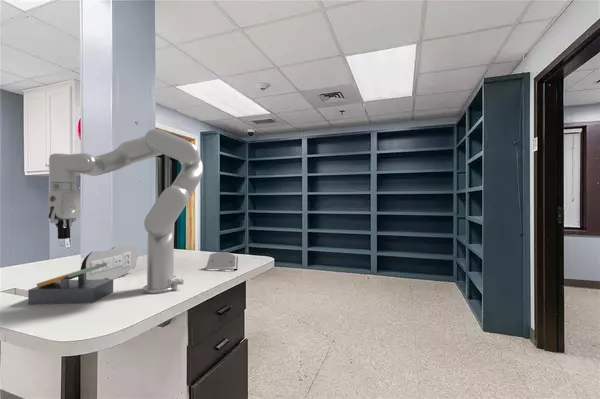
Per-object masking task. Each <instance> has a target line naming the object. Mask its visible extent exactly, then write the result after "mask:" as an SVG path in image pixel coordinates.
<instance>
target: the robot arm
mask: <svg viewBox="0 0 600 399" xmlns="http://www.w3.org/2000/svg"><path fill="white" fill-rule="evenodd" d="M144 135H145V136H142V137H138V138H134V139H131V140H127V141H123V142H122V143H120V144H119V146H118V147H117V148H115V149H114V150H112V151H110V152H106V153H104V154H100V155H96V156H95V155H93V154H89V153H87V152H85V153H81V152H80V153H70V154H69V153H52V154H50V155H49V157H48V170H49V171H48V174H49V177H48V178H49V182H48V183H49V192H48V196H47V197H48V198H47V208H46V210H47V211H46V212H47V217H48V219H49V220H50V221H49V222H50V223H51V224H54V225H55V228H57V239H59V240H63V239H64V240H66V239H71V227H72V224H73V223H74V222H76V221H77V219H78V218H80V217H81V206H80V204H81V203H80V197H79V194H78V192H77V174H83V175H87V176H92V177H96V176H97V177H98V176H102V175H105V174H109V173H111V172H115V171H117V170H121V169H123V168H125V167H128V166H130V165H133V164H135V163H138V162H142V161H145V160H148V159H152V158H155V157H158V156H162V155H165V156H167V157H169V158H172V159H174V160H177V161H178V162H179V164H180V165H181V170H180V172H179V173H178V175H177V176H176V178H175V180H174V181H173V182H172V184H171V185H170V186H169V187H167V188H165V189H164V190H163V191H162V192H161V194H160V195H159V196H158V198H157V200H156V201H155V203H154V204H153V206H152V207H151V208H150V209H149V212H148V213H147V214H146V216H145V218H144V221H143V226H144V229H145V231H146V232H147V245H146V246H147V252H146V254H147V255H146V258H147V262H146V263H147V264H146V277H147V278H146V285H144V286H143V287H142V292H143V293H145V294H162V293H169V292H172V291H174V290H175V289H177V288H178V286H179V285H184V283H185V281H184V280H185V279H183V278H177V275H174V264H175V263H174V258H175V257H174V256H175V255H174V252H175V250H174V249H175V247H174V245H175V244H174V243H175V242H174V240H175V223H176V221H177V219H178V218H179V216H180V215H181V213H182V212H183V210H184V209H185V207H186V206H187V204H188V202H189V200H190V198H191V196H192V195H193V193H194V192H195V191H196V188H197V186H198V185H199V183H200V181H201V179H202V178H203V174H204V165H203V161H202V159H201V157H200V155H199V154H200V153H199V149H198V147H197V146H196V145H195V144H194V143H193V142H191V141H189V140H186V139H184V138H182V137H179V136H177V135H175V134H173V133H170V132H168V131H165V130H164V129H159V128H154V129H149V130H148V131H147V132H146V133H145V134H144Z"/></svg>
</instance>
